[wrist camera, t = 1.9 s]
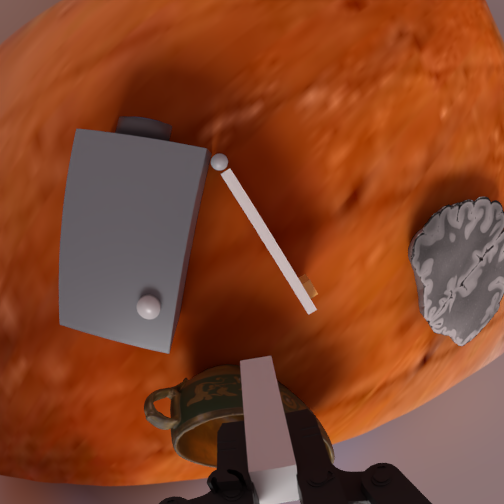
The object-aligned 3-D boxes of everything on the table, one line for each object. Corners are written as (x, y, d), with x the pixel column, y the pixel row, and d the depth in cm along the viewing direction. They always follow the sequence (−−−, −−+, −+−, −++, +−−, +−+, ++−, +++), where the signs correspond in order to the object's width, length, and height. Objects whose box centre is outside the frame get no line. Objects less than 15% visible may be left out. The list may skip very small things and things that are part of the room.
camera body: (88, 294, 29) (56, 327, 22) (112, 120, 25) (77, 107, 18) (179, 315, 30) (167, 357, 23) (215, 137, 26) (211, 125, 19)
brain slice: (512, 265, 33) (525, 271, 31) (442, 351, 36) (453, 361, 33) (463, 155, 29) (480, 156, 26) (373, 257, 31) (386, 265, 28)
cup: (254, 304, 31) (267, 363, 21) (326, 418, 36) (348, 474, 26) (151, 356, 32) (129, 419, 22) (241, 453, 37) (246, 511, 27)
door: (292, 289, 30) (306, 316, 25) (211, 161, 27) (207, 159, 21) (307, 280, 30) (325, 304, 25) (228, 150, 27) (229, 145, 21)
